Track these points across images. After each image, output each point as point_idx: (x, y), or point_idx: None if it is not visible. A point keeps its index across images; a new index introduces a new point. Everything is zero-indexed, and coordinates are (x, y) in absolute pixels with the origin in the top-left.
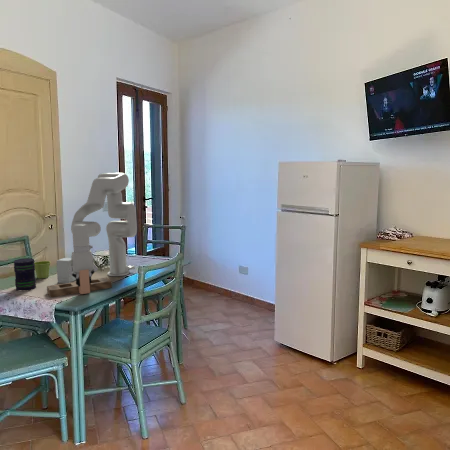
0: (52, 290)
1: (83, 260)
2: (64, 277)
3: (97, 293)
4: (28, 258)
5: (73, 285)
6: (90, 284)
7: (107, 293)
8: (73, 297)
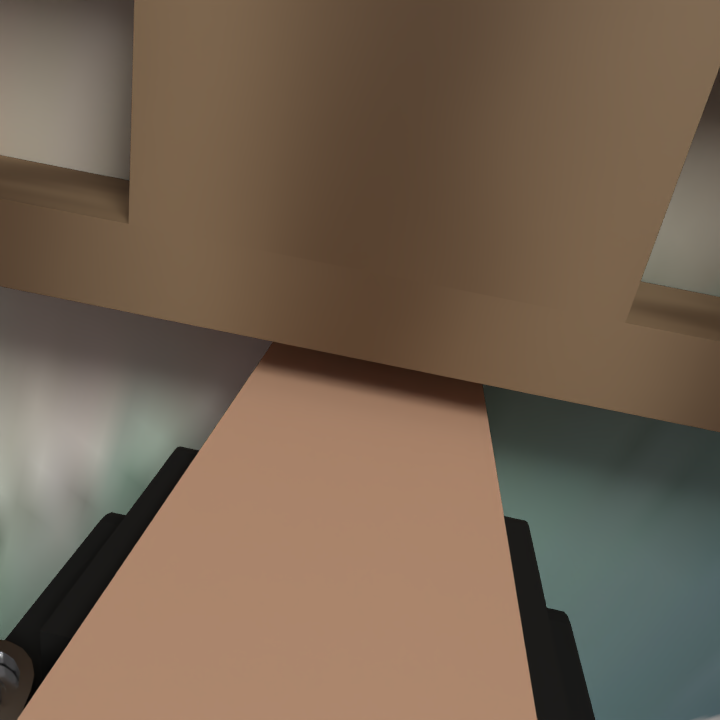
0: None
1: None
2: None
3: (555, 569)
4: None
5: (160, 159)
6: None
7: (676, 679)
8: (120, 480)
